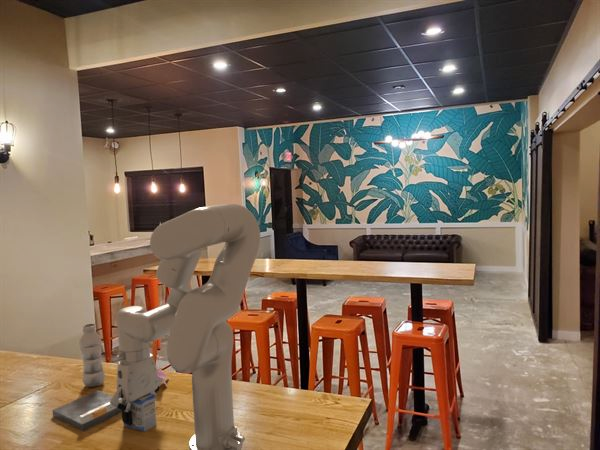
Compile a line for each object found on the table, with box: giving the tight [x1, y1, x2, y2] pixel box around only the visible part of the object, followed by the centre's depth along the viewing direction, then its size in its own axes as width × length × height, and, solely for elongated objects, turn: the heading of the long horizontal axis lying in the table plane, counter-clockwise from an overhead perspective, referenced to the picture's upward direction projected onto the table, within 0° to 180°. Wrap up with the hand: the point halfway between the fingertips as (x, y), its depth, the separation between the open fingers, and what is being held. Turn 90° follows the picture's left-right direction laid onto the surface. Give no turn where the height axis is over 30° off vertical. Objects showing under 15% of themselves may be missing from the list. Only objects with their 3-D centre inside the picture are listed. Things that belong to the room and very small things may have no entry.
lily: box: [156, 364, 170, 387], centre depth 149 cm, size 12×12×10 cm
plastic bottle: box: [79, 323, 106, 388], centre depth 150 cm, size 6×7×20 cm
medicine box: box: [123, 393, 157, 433], centre depth 125 cm, size 8×4×9 cm, turn 62°
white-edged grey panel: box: [51, 390, 122, 432], centre depth 132 cm, size 15×14×4 cm
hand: (139, 417), depth 125 cm, fingers open, 6 cm apart
